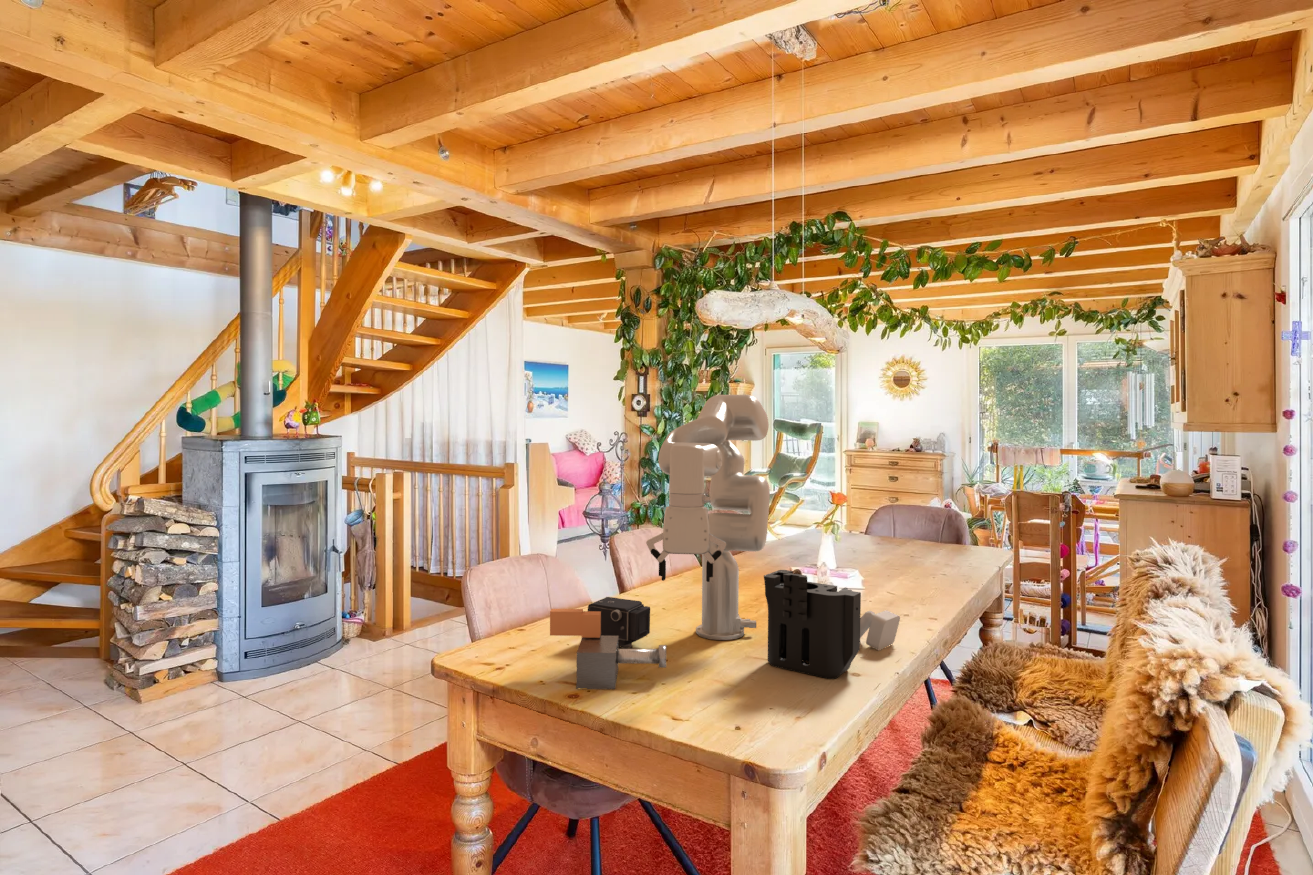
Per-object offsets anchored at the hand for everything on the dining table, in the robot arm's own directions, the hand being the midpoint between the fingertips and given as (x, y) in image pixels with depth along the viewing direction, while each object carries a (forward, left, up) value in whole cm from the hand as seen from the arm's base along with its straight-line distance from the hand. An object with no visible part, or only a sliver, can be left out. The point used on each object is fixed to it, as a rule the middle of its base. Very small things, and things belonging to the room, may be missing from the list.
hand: (685, 580), depth 159 cm
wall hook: (-47, -24, -22) cm, 57 cm away
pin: (+12, +2, -19) cm, 22 cm away
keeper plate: (+24, -3, -13) cm, 28 cm away
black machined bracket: (-28, -5, -21) cm, 36 cm away
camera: (+16, -22, -21) cm, 35 cm away
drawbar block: (+19, +2, -21) cm, 28 cm away
